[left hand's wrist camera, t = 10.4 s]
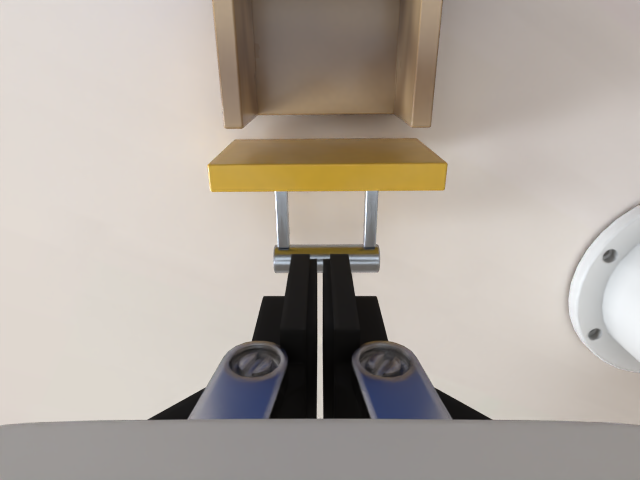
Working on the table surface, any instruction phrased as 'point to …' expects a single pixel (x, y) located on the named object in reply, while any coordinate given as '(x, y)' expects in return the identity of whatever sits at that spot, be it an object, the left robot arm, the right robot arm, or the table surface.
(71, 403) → the table surface
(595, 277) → the left robot arm
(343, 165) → the drawer
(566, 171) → the table surface
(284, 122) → the table surface
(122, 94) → the table surface
